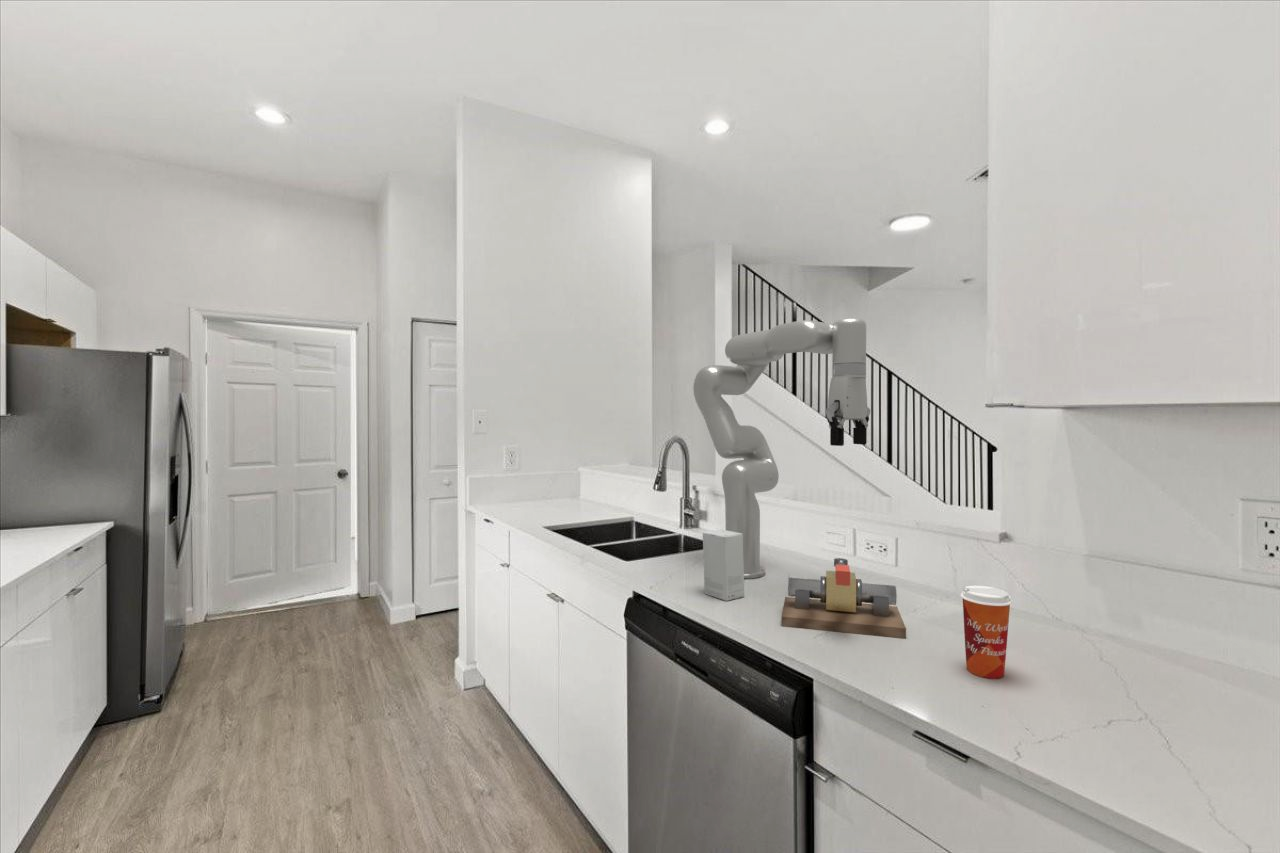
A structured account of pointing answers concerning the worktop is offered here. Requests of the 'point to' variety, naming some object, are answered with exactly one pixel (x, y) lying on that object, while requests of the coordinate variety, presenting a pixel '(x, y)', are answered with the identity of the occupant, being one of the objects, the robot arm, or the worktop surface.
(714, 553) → the skincare box
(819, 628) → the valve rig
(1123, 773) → the worktop surface
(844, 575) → the valve lever
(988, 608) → the paper cup
